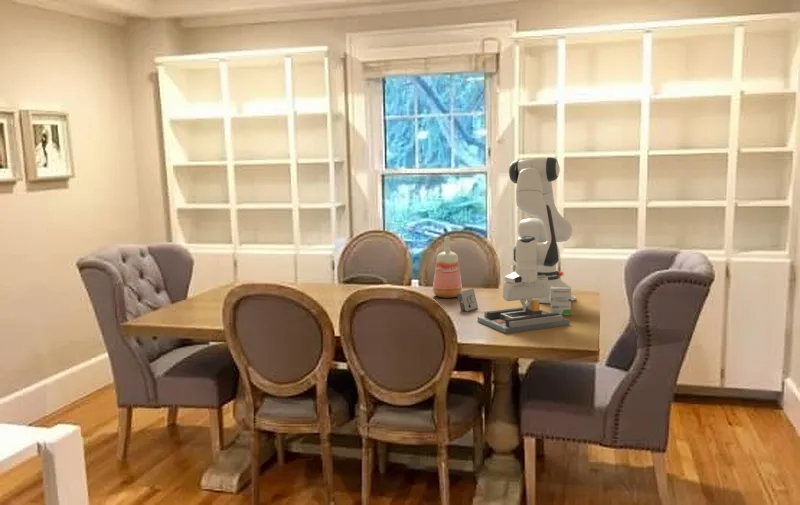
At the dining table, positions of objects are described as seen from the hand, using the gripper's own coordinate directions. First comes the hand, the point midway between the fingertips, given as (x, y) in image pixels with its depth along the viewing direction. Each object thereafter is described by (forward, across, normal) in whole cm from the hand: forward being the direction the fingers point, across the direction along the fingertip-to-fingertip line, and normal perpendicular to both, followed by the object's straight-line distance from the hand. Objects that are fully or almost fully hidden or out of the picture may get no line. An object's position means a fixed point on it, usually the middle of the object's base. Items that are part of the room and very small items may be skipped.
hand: (526, 309), depth 273 cm
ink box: (+6, -21, -6) cm, 23 cm away
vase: (+6, +5, -63) cm, 63 cm away
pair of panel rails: (+4, +2, 0) cm, 4 cm away
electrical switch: (+6, +10, -33) cm, 35 cm away
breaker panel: (+6, +2, 0) cm, 6 cm away
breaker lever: (+3, -3, 0) cm, 5 cm away
